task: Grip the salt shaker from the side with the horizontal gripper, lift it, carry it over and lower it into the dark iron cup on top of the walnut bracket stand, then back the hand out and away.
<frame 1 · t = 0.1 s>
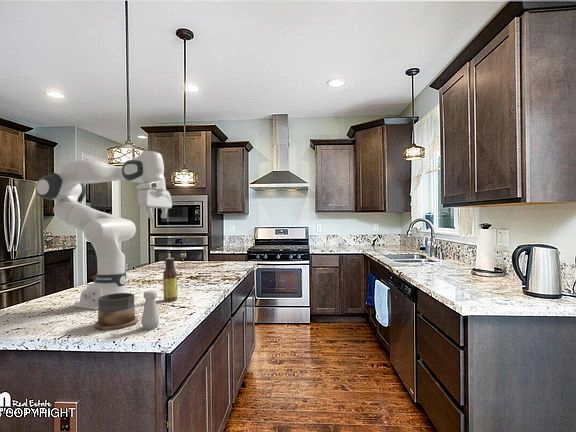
hand: (157, 218, 145), 39 cm above the countertop, tool pointing down, fingers open, 8 cm apart
cup bracket: (116, 323, 121), on the countertop
sauce bottle: (170, 300, 156), on the countertop
salt shaker: (150, 328, 116), on the countertop
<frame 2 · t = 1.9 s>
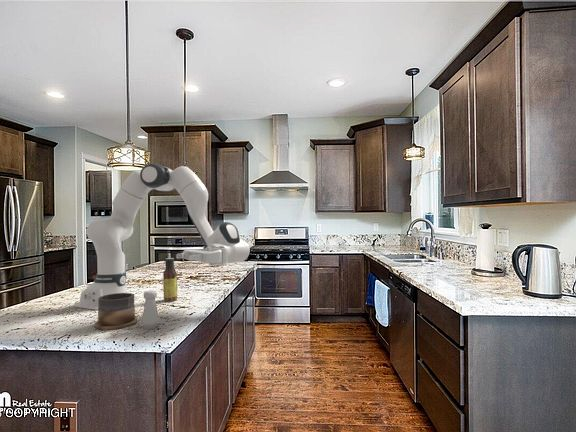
hand: (182, 257, 125), 24 cm above the countertop, tool horizontal, fingers open, 8 cm apart
nothing on the countertop moved.
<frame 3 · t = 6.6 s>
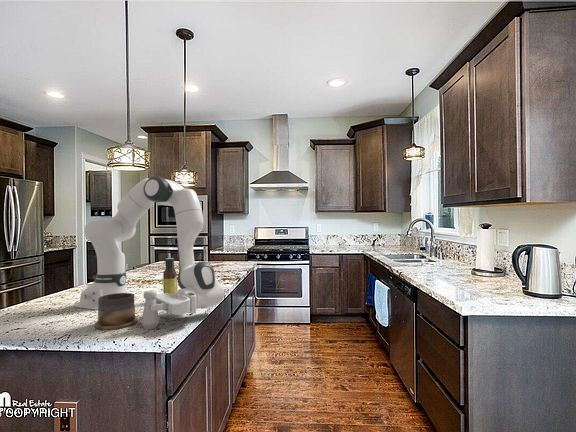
hand: (147, 306, 115), 8 cm above the countertop, tool horizontal, fingers closed on salt shaker, 3 cm apart
salt shaker: (150, 328, 116), on the countertop, touching gripper
everything else where it was.
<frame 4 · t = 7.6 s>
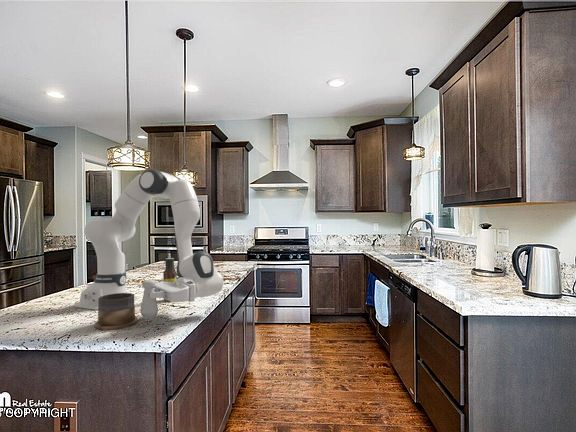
hand: (146, 294, 116), 12 cm above the countertop, tool horizontal, fingers closed on salt shaker, 3 cm apart
salt shaker: (149, 317, 116), point 4 cm above the countertop, touching gripper
everything else where it was.
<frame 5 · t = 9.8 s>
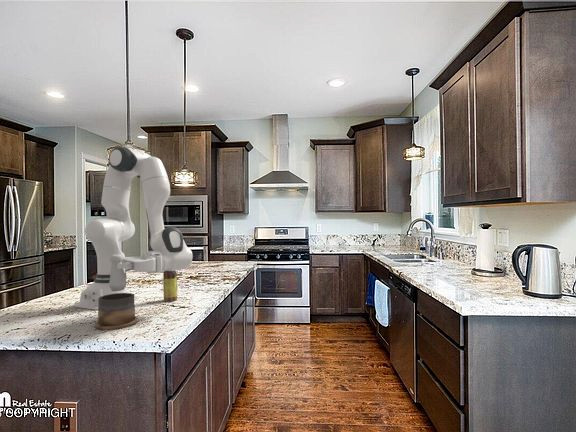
hand: (114, 265, 121), 21 cm above the countertop, tool horizontal, fingers closed on salt shaker, 3 cm apart
salt shaker: (118, 290, 121), point 12 cm above the countertop, touching gripper
everything else where it was.
when the fingers open (15 cm above the countertop, at t = 11.4 s): salt shaker stays where it is, resting on cup bracket.
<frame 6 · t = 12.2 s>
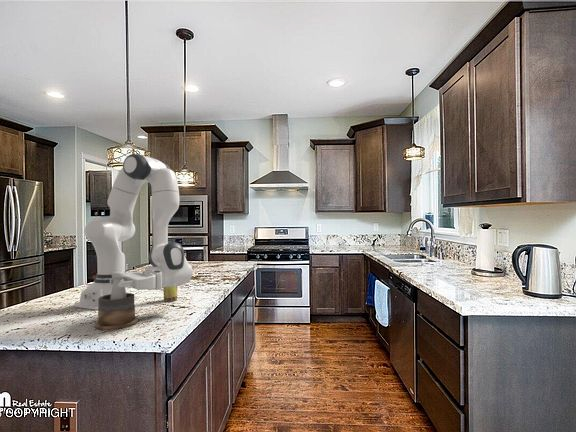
hand: (114, 283, 120), 15 cm above the countertop, tool horizontal, fingers open, 8 cm apart
salt shaker: (118, 307, 121), point 6 cm above the countertop, touching cup bracket
everything else where it was.
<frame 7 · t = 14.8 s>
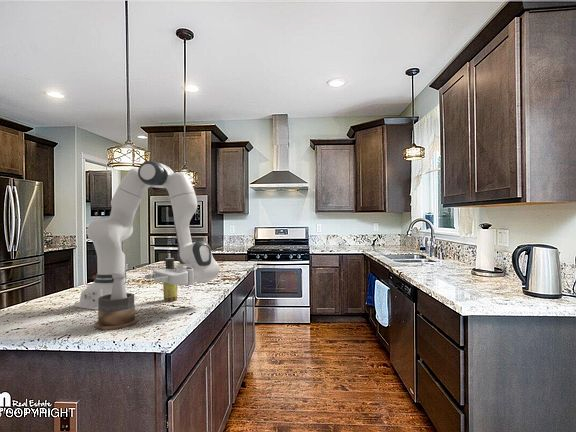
hand: (150, 278, 129), 15 cm above the countertop, tool horizontal, fingers open, 8 cm apart
nothing on the countertop moved.
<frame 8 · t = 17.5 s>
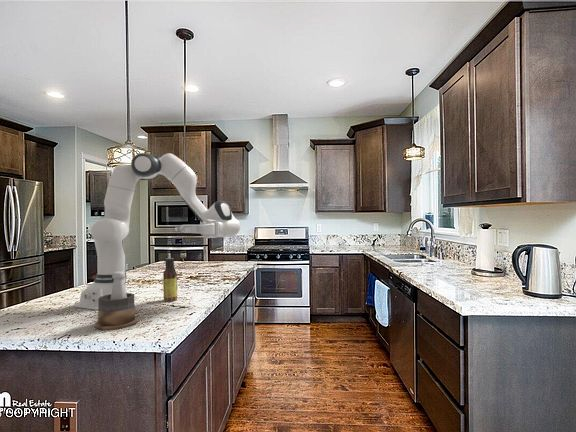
hand: (180, 229, 144), 34 cm above the countertop, tool horizontal, fingers open, 8 cm apart
nothing on the countertop moved.
at the end: salt shaker 0.6 cm off-centre on the cup bracket, point 5.8 cm above the cup bracket's base; salt shaker tilted 0°; the gripper is holding nothing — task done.
